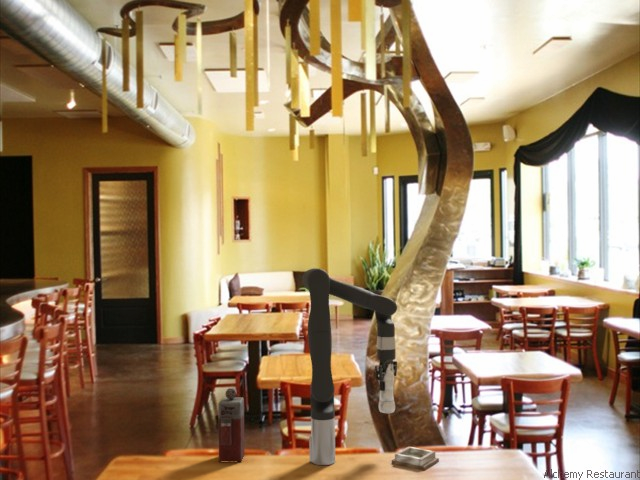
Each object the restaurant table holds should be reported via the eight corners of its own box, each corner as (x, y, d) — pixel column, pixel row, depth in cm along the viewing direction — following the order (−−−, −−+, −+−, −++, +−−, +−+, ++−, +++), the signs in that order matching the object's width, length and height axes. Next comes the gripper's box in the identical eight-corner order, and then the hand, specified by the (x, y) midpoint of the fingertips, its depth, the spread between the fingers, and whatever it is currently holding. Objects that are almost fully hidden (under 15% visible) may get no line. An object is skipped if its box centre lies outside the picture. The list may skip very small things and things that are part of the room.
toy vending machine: (217, 464, 245) (216, 391, 246) (222, 455, 257) (221, 385, 257) (240, 464, 245) (239, 391, 246) (244, 454, 256) (243, 385, 257)
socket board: (391, 463, 243) (391, 453, 244) (406, 455, 253) (406, 445, 253) (424, 470, 235) (424, 460, 235) (438, 461, 245) (438, 451, 245)
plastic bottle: (394, 415, 251) (394, 364, 252) (377, 414, 253) (377, 364, 253) (395, 411, 258) (395, 362, 258) (379, 410, 259) (378, 361, 259)
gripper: (387, 344, 264) (387, 384, 263) (368, 348, 252) (369, 391, 252) (402, 345, 259) (403, 387, 259) (385, 350, 248) (385, 393, 247)
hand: (386, 388), depth 255 cm, fingers closed on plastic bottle, 6 cm apart
